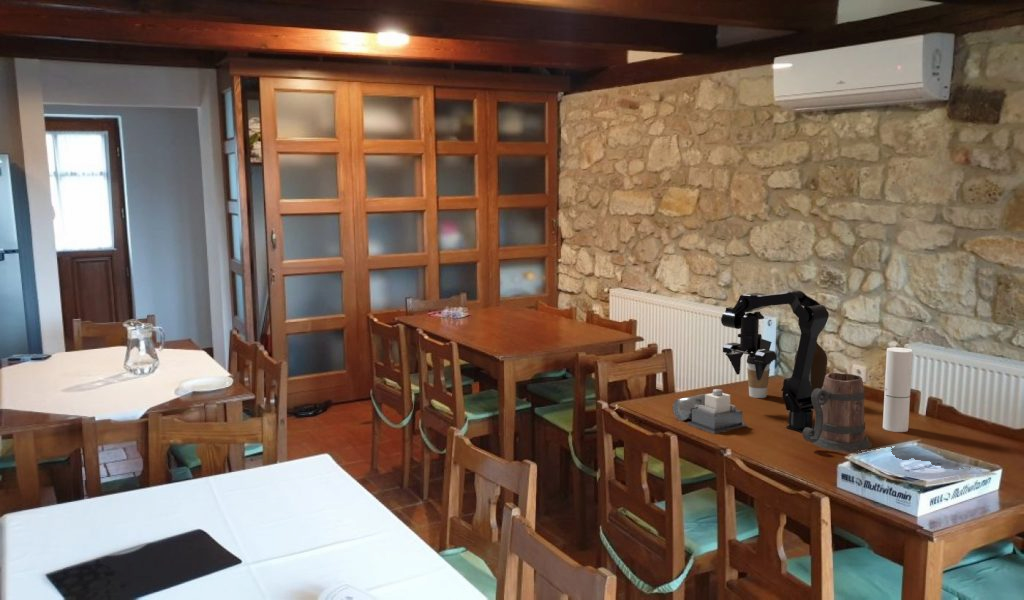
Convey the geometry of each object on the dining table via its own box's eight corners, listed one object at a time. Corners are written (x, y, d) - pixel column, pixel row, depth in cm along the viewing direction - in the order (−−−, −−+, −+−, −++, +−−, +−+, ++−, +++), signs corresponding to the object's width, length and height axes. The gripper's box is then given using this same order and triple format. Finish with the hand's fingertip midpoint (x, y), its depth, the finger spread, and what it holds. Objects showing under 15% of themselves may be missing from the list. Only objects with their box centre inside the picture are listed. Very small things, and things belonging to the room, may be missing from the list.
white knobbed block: (729, 410, 255) (730, 390, 254) (716, 413, 252) (716, 393, 251) (718, 406, 259) (718, 387, 258) (704, 409, 256) (705, 389, 255)
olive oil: (808, 395, 288) (810, 327, 285) (832, 402, 279) (835, 332, 275) (786, 400, 283) (788, 330, 280) (810, 407, 274) (813, 335, 270)
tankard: (836, 430, 250) (839, 367, 247) (884, 445, 235) (888, 378, 232) (782, 443, 239) (784, 377, 236) (828, 459, 224) (831, 390, 221)
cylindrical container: (902, 425, 253) (907, 347, 249) (911, 432, 246) (916, 352, 242) (879, 424, 254) (883, 347, 250) (887, 431, 247) (891, 352, 243)
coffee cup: (773, 398, 285) (774, 357, 283) (749, 399, 285) (750, 357, 283) (766, 392, 294) (767, 352, 291) (742, 393, 294) (743, 352, 292)
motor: (746, 426, 255) (747, 404, 254) (714, 434, 248) (714, 412, 247) (701, 411, 272) (702, 391, 271) (670, 418, 265) (670, 397, 264)
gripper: (788, 332, 262) (787, 379, 265) (745, 324, 278) (744, 368, 280) (764, 336, 257) (763, 384, 259) (722, 328, 273) (721, 373, 275)
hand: (748, 377), depth 268 cm, fingers open, 9 cm apart
